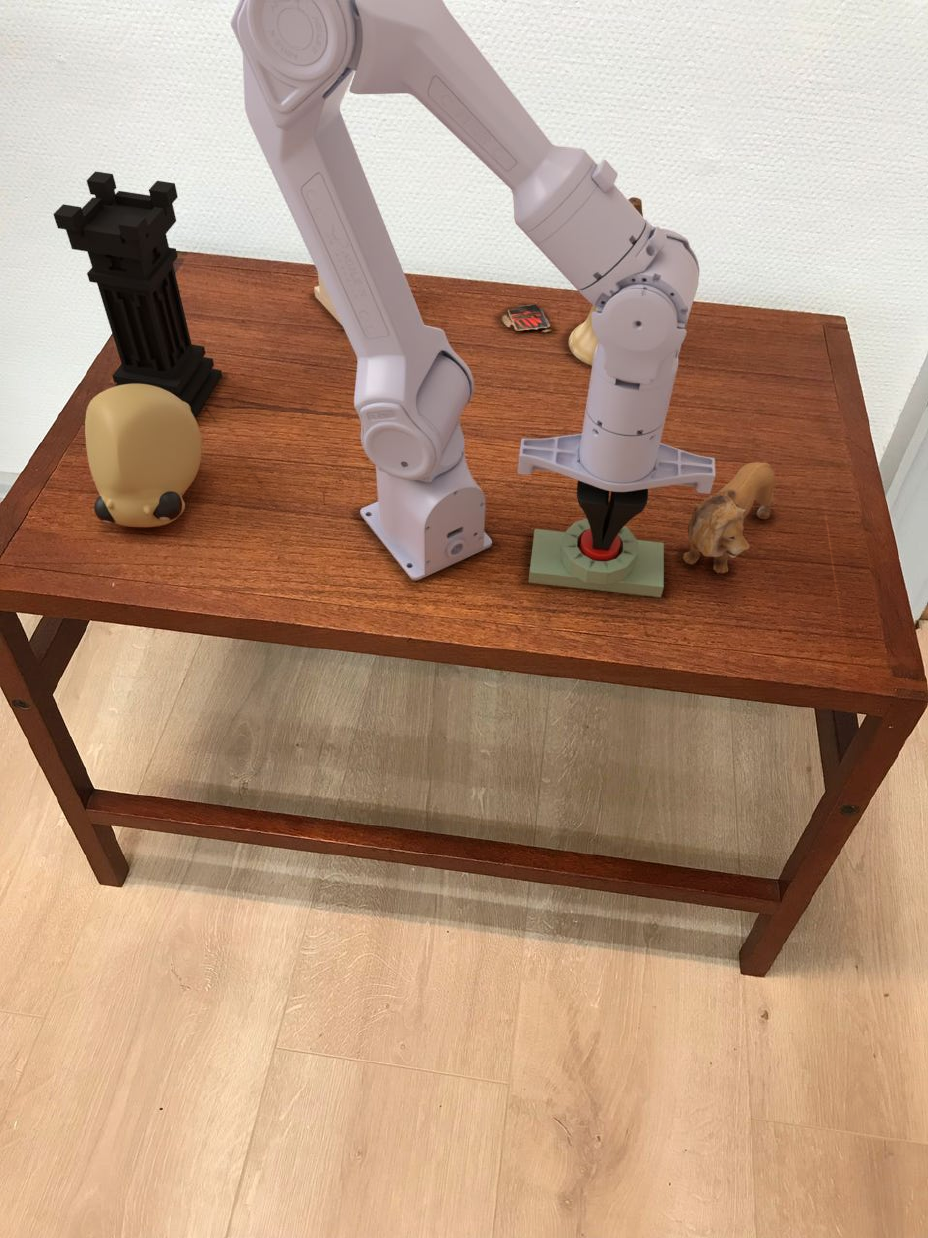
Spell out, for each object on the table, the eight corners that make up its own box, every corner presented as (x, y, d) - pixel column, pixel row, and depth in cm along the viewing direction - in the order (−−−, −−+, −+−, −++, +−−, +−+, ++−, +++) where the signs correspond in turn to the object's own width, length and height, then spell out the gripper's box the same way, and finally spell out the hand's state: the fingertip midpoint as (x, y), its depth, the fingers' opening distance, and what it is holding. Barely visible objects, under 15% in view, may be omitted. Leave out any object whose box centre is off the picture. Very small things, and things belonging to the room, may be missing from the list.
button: (617, 543, 82) (621, 528, 81) (616, 571, 80) (619, 557, 79) (580, 539, 82) (582, 524, 81) (577, 567, 80) (580, 552, 79)
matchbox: (533, 303, 106) (534, 299, 106) (557, 329, 103) (558, 325, 103) (495, 314, 105) (495, 310, 104) (518, 340, 102) (519, 336, 102)
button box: (661, 548, 84) (667, 524, 82) (660, 603, 80) (667, 579, 78) (533, 535, 85) (536, 510, 82) (527, 588, 81) (530, 563, 79)
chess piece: (111, 413, 94) (46, 215, 78) (147, 363, 98) (93, 168, 83) (189, 427, 93) (139, 230, 77) (222, 376, 97) (181, 181, 82)
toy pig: (111, 520, 90) (57, 528, 79) (108, 386, 88) (52, 376, 77) (217, 524, 89) (176, 533, 79) (216, 389, 87) (174, 380, 77)
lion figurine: (724, 611, 80) (752, 535, 73) (663, 587, 81) (684, 510, 74) (778, 501, 88) (808, 423, 81) (722, 480, 90) (746, 402, 83)
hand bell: (647, 325, 104) (676, 180, 92) (648, 373, 99) (679, 226, 87) (569, 319, 105) (587, 173, 92) (567, 367, 100) (585, 219, 87)
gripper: (727, 384, 71) (689, 515, 82) (529, 365, 72) (517, 497, 83) (731, 448, 67) (690, 578, 78) (520, 427, 68) (509, 558, 79)
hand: (601, 541), depth 80 cm, fingers closed, pressing on button
